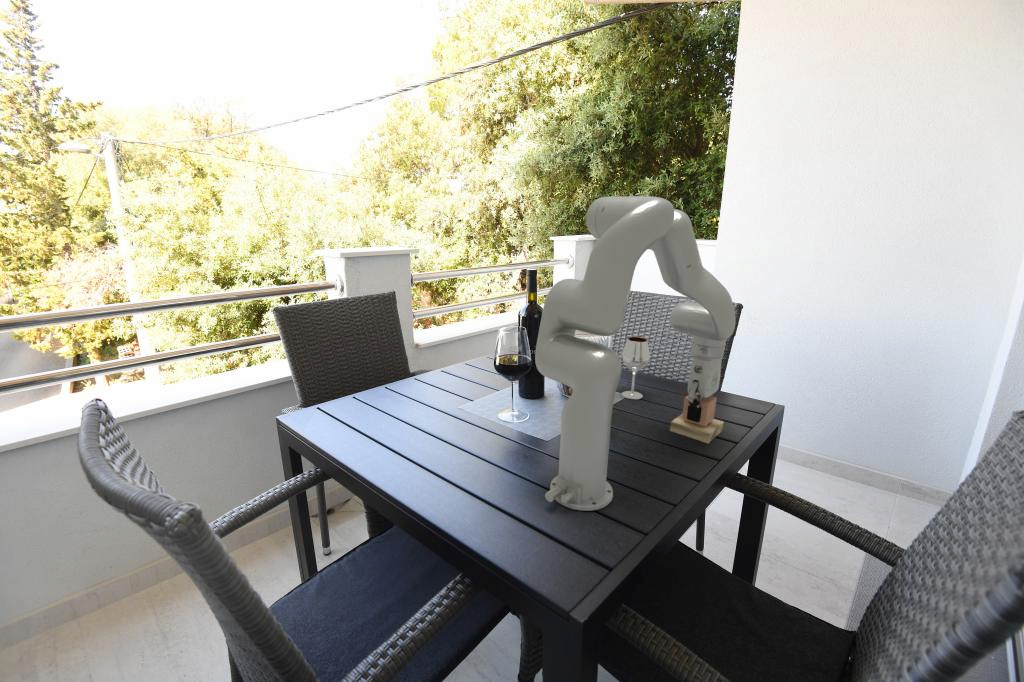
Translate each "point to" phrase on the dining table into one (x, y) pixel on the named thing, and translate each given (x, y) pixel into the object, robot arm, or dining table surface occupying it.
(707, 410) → the painted cube
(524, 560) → the dining table surface
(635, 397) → the wineglass
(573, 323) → the robot arm
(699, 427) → the oak block
